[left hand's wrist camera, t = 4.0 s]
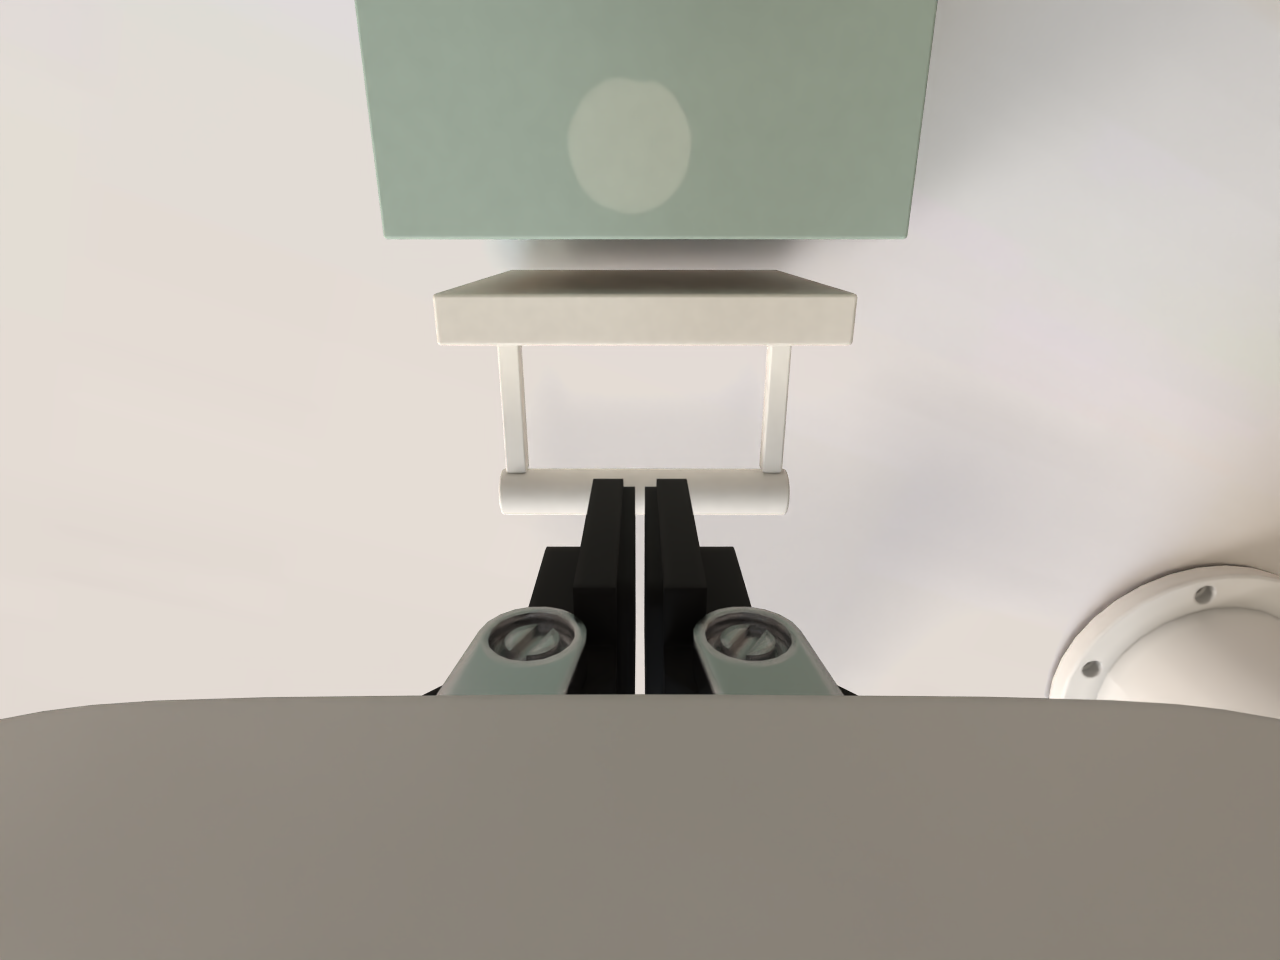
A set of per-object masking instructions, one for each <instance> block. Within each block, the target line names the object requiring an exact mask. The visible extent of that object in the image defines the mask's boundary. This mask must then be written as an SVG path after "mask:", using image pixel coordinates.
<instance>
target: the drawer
mask: <svg viewBox="0 0 1280 960" xmlns="http://www.w3.org/2000/svg"><path fill="white" fill-rule="evenodd" d="M433 303H434V313H435V323H436V332H437V341H438V344H439V345H442V346H497V349H498V363H499V377H500V390H501V404H502V418H503V431H504V445H505V459H506V469H504V470H503V471H502V473H501V476H500V481H499V503H500V508H501V511H502V513H503V514H505V515H587V509H588V504H589V499H590V493H591V488H592V483H593V479H623V481H624V487H635V515H645V487H656V481H657V479H687V483H688V488H689V493H690V499H691V504H692V509H693V515H784V514H786V512H787V509H788V505H789V495H790V489H789V479H788V475H787V472H786V470H784V469H782V463H783V450H784V437H785V424H786V411H787V398H788V385H789V372H790V359H791V346H848V345H851V344H852V341H853V332H854V323H855V314H856V305H857V295H856V294H854V293H851V292H847V291H844V290H841V289H837V288H834V287H831V286H827V285H824V284H821V283H817V282H814V281H811V280H808V279H804V278H801V277H798V276H794V275H791V274H788V273H784V272H781V271H778V270H510V271H507V272H504V273H501V274H497V275H494V276H491V277H488V278H485V279H481V280H478V281H475V282H472V283H468V284H465V285H462V286H459V287H456V288H452V289H449V290H446V291H443V292H440V293H436V294H434V296H433ZM522 346H767V358H766V373H765V389H764V404H763V420H762V435H761V451H760V468H761V469H528V467H529V460H528V443H527V427H526V410H525V394H524V377H523V361H522Z"/></svg>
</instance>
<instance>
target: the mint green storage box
mask: <svg viewBox="0 0 1280 960" xmlns="http://www.w3.org/2000/svg"><path fill="white" fill-rule="evenodd" d="M937 1H938V0H355V8H356V16H357V24H358V32H359V40H360V48H361V56H362V65H363V73H364V81H365V89H366V97H367V105H368V113H369V121H370V129H371V137H372V145H373V153H374V161H375V169H376V177H377V185H378V193H379V201H380V210H381V218H382V226H383V234H384V237H385V238H386V239H905V238H906V237H907V234H908V226H909V218H910V211H911V203H912V195H913V187H914V180H915V172H916V164H917V156H918V149H919V141H920V133H921V125H922V118H923V110H924V102H925V94H926V87H927V79H928V71H929V63H930V56H931V48H932V40H933V32H934V25H935V17H936V9H937Z"/></svg>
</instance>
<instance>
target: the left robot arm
mask: <svg viewBox="0 0 1280 960" xmlns="http://www.w3.org/2000/svg"><path fill="white" fill-rule="evenodd" d="M635 638H636V597H635V487H624V481H623V479H593V483H592V488H591V493H590V499H589V504H588V509H587V515H586V520H585V525H584V531H583V536H582V541H581V547H547V548H546V550H545V553H544V556H543V560H542V563H541V567H540V570H539V573H538V577H537V580H536V584H535V587H534V590H533V594H532V597H531V600H530V604H529V607H527V608H521V609H515V610H512V611H509V612H506V613H504V614H501V615H499V616H497V617H495V618H494V619H492V620H490V621H489V622H487V623H486V624H485V625H484V626H483V627H482V628H481V630H480V631H479V632H478V633H477V635H476V636H475V638H474V639H473V641H472V642H471V644H470V645H469V647H468V648H467V650H466V651H465V653H464V654H463V656H462V657H461V659H460V660H459V662H458V663H457V665H456V666H455V668H454V669H453V671H452V672H451V674H450V675H449V677H448V678H447V680H446V681H445V683H444V684H443V685H442V686H440V687H438V688H436V689H434V690H432V691H430V692H428V693H426V694H424V695H422V696H342V697H261V698H228V699H195V700H162V701H144V702H129V703H115V704H100V705H88V706H81V707H73V708H65V709H57V710H50V711H42V712H37V713H32V714H26V715H21V716H16V717H10V718H5V719H0V960H1280V576H1278V575H1276V574H1272V573H1269V572H1265V571H1262V570H1259V569H1255V568H1250V567H1239V566H1228V565H1223V566H1211V567H1198V568H1194V569H1190V570H1185V571H1181V572H1177V573H1173V574H1169V575H1166V576H1164V577H1161V578H1159V579H1156V580H1154V581H1151V582H1149V583H1146V584H1144V585H1142V586H1140V587H1138V588H1136V589H1135V590H1133V591H1131V592H1129V593H1128V594H1126V595H1124V596H1122V597H1121V598H1119V599H1117V600H1116V601H1114V602H1113V603H1112V604H1111V605H1109V606H1108V607H1107V608H1106V609H1104V610H1103V611H1102V612H1100V613H1099V614H1098V615H1097V616H1095V617H1094V618H1093V619H1092V620H1091V621H1090V622H1089V623H1088V624H1087V626H1086V627H1085V628H1084V629H1083V630H1082V631H1081V632H1080V633H1079V634H1078V635H1077V636H1076V637H1075V639H1074V640H1073V642H1072V643H1071V645H1070V646H1069V648H1068V649H1067V651H1066V652H1065V654H1064V655H1063V657H1062V658H1061V661H1060V663H1059V665H1058V668H1057V670H1056V673H1055V675H1054V677H1053V680H1052V684H1051V690H1050V695H1049V698H1012V697H950V696H858V695H856V694H854V693H852V692H850V691H848V690H846V689H844V688H842V687H840V686H838V685H837V684H836V683H835V681H834V680H833V678H832V677H831V675H830V674H829V672H828V671H827V669H826V668H825V666H824V665H823V663H822V662H821V660H820V659H819V657H818V656H817V654H816V653H815V651H814V650H813V648H812V647H811V645H810V644H809V642H808V641H807V639H806V638H805V636H804V635H803V633H802V632H801V631H800V630H799V628H798V627H797V626H796V625H795V624H794V623H793V622H791V621H790V620H788V619H786V618H785V617H783V616H781V615H779V614H776V613H774V612H771V611H768V610H765V609H759V608H753V607H751V604H750V600H749V597H748V594H747V590H746V587H745V584H744V580H743V577H742V573H741V570H740V567H739V563H738V560H737V556H736V553H735V550H734V548H733V547H699V541H698V536H697V531H696V525H695V520H694V515H693V509H692V504H691V499H690V493H689V488H688V483H687V479H657V481H656V487H645V596H644V638H645V694H635Z"/></svg>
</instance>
